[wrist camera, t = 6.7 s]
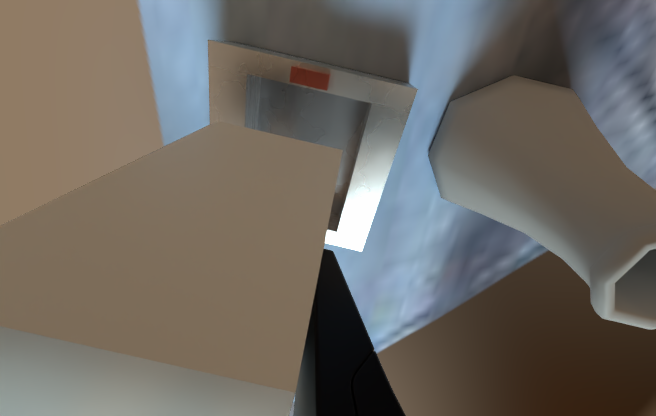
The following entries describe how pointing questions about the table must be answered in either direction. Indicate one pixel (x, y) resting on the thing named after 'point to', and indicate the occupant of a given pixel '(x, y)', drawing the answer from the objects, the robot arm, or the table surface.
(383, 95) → the socket
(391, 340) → the table surface
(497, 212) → the flask
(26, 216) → the plug
